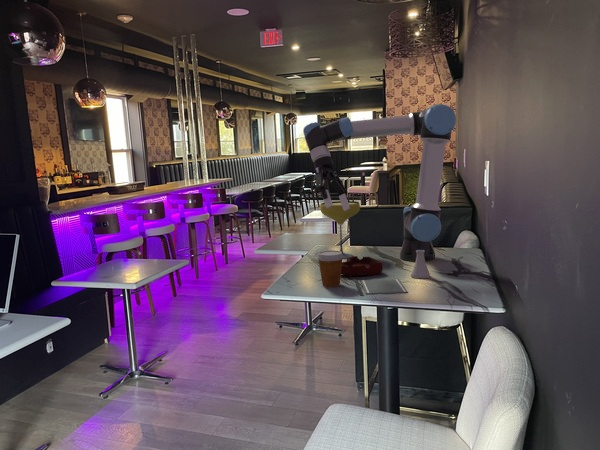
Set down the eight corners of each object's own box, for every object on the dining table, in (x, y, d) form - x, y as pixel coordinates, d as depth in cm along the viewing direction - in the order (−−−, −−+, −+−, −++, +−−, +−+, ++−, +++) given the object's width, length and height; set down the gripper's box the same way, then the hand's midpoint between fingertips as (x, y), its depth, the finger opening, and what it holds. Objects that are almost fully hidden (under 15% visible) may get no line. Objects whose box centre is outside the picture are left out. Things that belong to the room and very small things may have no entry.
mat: (398, 280, 170) (398, 278, 170) (407, 292, 154) (407, 291, 154) (360, 281, 170) (360, 280, 170) (365, 294, 154) (365, 293, 154)
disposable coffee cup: (336, 290, 161) (335, 256, 159) (313, 287, 166) (312, 254, 164) (348, 283, 169) (347, 251, 167) (326, 280, 174) (324, 249, 172)
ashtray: (376, 280, 172) (376, 267, 171) (335, 277, 178) (334, 265, 178) (388, 269, 188) (388, 257, 187) (350, 266, 194) (349, 255, 194)
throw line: (357, 280, 172) (357, 280, 172) (363, 295, 153) (363, 295, 153) (354, 280, 172) (354, 280, 172) (360, 296, 153) (360, 295, 153)
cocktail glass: (367, 254, 217) (366, 201, 213) (350, 262, 202) (348, 205, 198) (333, 251, 226) (331, 200, 223) (315, 259, 211) (312, 204, 208)
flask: (431, 274, 176) (431, 248, 174) (429, 279, 169) (429, 252, 168) (411, 273, 178) (411, 248, 177) (409, 278, 171) (409, 252, 170)
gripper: (330, 168, 196) (346, 214, 190) (297, 158, 175) (313, 209, 170) (344, 160, 192) (361, 207, 186) (312, 149, 171) (330, 201, 166)
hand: (338, 208), depth 178 cm, fingers open, 13 cm apart
